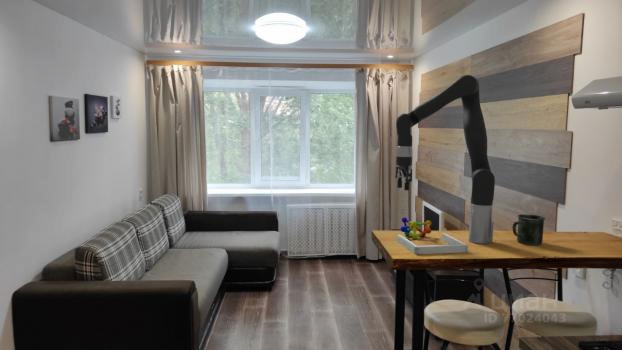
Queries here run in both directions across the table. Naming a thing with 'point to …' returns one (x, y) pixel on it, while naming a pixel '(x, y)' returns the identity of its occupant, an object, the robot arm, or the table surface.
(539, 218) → the mug
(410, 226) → the decorative model
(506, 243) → the table surface
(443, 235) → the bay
